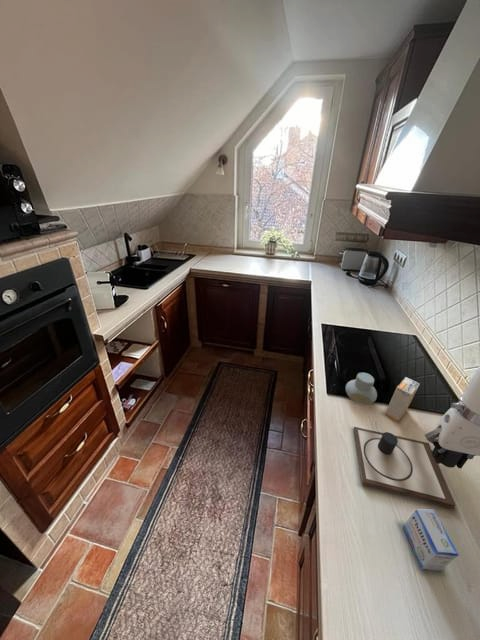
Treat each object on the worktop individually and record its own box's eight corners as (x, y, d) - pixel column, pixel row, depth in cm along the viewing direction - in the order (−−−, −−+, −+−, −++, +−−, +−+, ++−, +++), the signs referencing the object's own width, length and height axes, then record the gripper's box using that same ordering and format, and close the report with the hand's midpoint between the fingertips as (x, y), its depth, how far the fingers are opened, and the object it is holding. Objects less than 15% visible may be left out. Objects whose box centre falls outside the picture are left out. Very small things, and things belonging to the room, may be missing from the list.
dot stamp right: (451, 455, 67) (459, 443, 65) (458, 469, 64) (467, 457, 61) (433, 451, 68) (441, 439, 65) (440, 465, 64) (448, 453, 62)
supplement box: (398, 422, 87) (412, 395, 81) (384, 413, 90) (396, 386, 84) (407, 410, 92) (420, 383, 86) (393, 402, 95) (405, 376, 89)
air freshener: (374, 394, 98) (382, 375, 94) (374, 410, 92) (382, 389, 87) (345, 385, 102) (350, 366, 97) (342, 399, 96) (349, 379, 91)
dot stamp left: (390, 444, 78) (395, 433, 76) (393, 456, 75) (399, 445, 72) (376, 441, 79) (381, 430, 77) (379, 452, 76) (384, 442, 73)
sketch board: (427, 445, 80) (429, 442, 79) (453, 508, 65) (456, 505, 64) (353, 429, 84) (354, 426, 84) (361, 484, 69) (363, 481, 68)
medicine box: (401, 526, 61) (414, 507, 57) (420, 526, 61) (434, 508, 57) (421, 570, 54) (437, 553, 50) (442, 571, 54) (460, 554, 50)
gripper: (442, 417, 55) (414, 466, 64) (536, 434, 52) (492, 483, 61) (429, 392, 62) (405, 440, 71) (512, 406, 58) (475, 455, 67)
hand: (446, 460), depth 66 cm, fingers closed on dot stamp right, 4 cm apart
